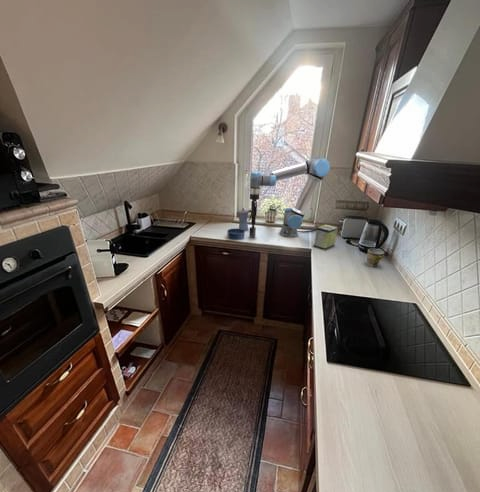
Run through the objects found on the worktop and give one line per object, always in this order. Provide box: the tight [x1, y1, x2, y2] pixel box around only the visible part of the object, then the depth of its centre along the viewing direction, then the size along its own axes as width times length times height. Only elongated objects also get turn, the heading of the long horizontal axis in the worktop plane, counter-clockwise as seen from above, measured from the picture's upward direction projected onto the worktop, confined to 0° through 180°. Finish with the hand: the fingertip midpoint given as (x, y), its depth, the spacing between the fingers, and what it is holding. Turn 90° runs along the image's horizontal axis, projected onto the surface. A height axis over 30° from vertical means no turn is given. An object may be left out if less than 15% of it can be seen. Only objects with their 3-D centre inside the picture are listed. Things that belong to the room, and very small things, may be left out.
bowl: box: [226, 228, 246, 241], centre depth 214 cm, size 14×14×6 cm
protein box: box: [313, 223, 339, 251], centre depth 201 cm, size 10×16×16 cm
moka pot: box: [236, 208, 252, 232], centre depth 229 cm, size 10×15×20 cm, turn 115°
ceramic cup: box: [365, 248, 385, 268], centre depth 172 cm, size 13×10×10 cm
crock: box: [248, 226, 257, 239], centre depth 214 cm, size 5×5×9 cm
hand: (253, 223), depth 210 cm, fingers closed on cooking stick, 2 cm apart
